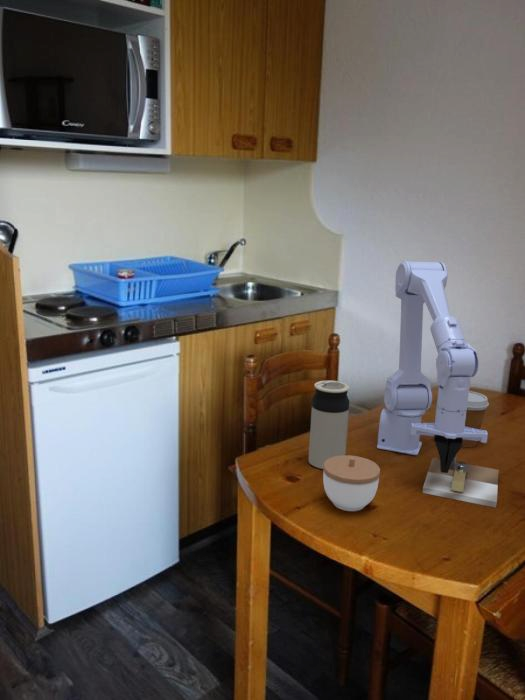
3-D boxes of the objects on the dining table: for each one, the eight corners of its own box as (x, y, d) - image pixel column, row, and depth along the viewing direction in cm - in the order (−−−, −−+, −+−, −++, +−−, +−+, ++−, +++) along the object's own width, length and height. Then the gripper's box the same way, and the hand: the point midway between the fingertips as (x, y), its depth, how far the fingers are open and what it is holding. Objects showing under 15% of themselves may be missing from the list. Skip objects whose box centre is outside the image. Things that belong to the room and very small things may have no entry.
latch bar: (453, 472, 131) (455, 460, 130) (467, 474, 130) (468, 463, 129) (449, 489, 123) (451, 477, 122) (464, 492, 122) (466, 480, 121)
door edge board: (422, 492, 124) (423, 487, 124) (431, 462, 139) (432, 457, 139) (496, 507, 119) (496, 502, 119) (497, 474, 134) (498, 469, 134)
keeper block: (446, 468, 133) (447, 458, 133) (448, 461, 137) (449, 451, 136) (453, 470, 133) (455, 459, 132) (455, 462, 137) (456, 452, 136)
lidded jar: (309, 497, 121) (313, 452, 118) (353, 486, 126) (357, 443, 124) (342, 522, 112) (346, 475, 109) (388, 510, 117) (393, 464, 115)
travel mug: (351, 463, 137) (358, 386, 132) (329, 474, 131) (335, 393, 126) (323, 452, 142) (328, 377, 137) (300, 462, 136) (305, 384, 132)
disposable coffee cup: (477, 453, 145) (484, 405, 142) (437, 443, 150) (443, 396, 147) (487, 441, 153) (493, 394, 150) (448, 432, 158) (454, 387, 155)
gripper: (414, 409, 120) (408, 474, 123) (493, 417, 117) (484, 483, 120) (413, 398, 126) (407, 460, 130) (487, 406, 124) (479, 468, 127)
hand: (444, 470), depth 125 cm, fingers closed
